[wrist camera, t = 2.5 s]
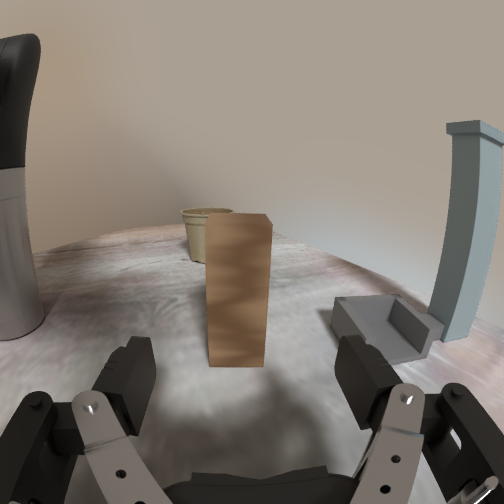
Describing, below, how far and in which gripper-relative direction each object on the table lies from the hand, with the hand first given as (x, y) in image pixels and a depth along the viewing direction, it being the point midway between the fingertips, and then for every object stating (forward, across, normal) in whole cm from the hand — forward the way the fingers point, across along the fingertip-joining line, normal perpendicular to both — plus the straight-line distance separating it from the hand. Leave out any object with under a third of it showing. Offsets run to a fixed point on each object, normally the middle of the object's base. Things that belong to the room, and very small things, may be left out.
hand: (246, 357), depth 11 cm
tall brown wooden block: (+12, 0, +8) cm, 14 cm away
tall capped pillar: (+12, -18, +8) cm, 23 cm away
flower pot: (+39, +5, +8) cm, 40 cm away
